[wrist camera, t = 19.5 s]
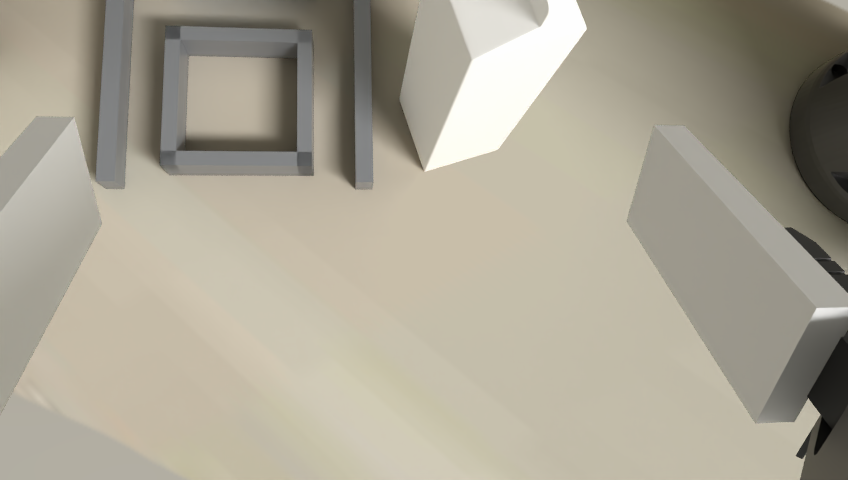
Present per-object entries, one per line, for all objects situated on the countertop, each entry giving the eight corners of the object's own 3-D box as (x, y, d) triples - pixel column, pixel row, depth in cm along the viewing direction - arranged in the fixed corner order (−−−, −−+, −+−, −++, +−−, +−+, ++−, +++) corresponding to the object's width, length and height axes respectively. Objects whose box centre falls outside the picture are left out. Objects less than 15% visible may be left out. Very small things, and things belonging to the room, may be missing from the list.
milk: (471, 78, 50) (569, -132, 29) (498, 151, 50) (619, -9, 28) (396, 99, 49) (439, -103, 28) (422, 174, 49) (487, 26, 27)
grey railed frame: (367, -130, 52) (368, -158, 49) (372, 189, 48) (373, 178, 45) (124, -144, 50) (110, -175, 47) (106, 188, 46) (89, 177, 43)
